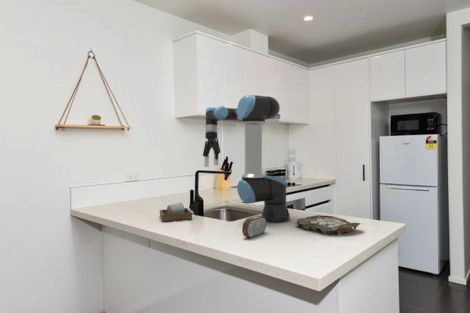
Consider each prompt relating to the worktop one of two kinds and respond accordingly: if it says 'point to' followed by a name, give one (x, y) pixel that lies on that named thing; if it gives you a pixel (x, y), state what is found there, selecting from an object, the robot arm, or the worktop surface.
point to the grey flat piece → (326, 224)
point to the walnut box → (175, 216)
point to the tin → (254, 226)
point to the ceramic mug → (175, 208)
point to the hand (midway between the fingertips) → (211, 166)
